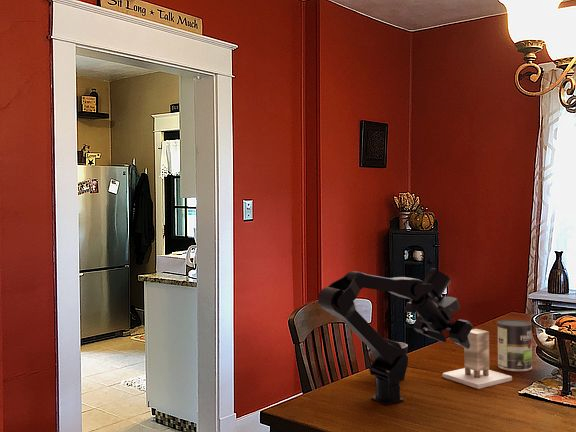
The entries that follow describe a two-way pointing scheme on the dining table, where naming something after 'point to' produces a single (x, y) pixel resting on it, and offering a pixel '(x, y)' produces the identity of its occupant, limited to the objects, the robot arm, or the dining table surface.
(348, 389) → the dining table surface
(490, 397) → the dining table surface
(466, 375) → the peg stand
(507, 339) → the coffee can
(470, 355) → the birch block
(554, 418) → the dining table surface
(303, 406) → the dining table surface
